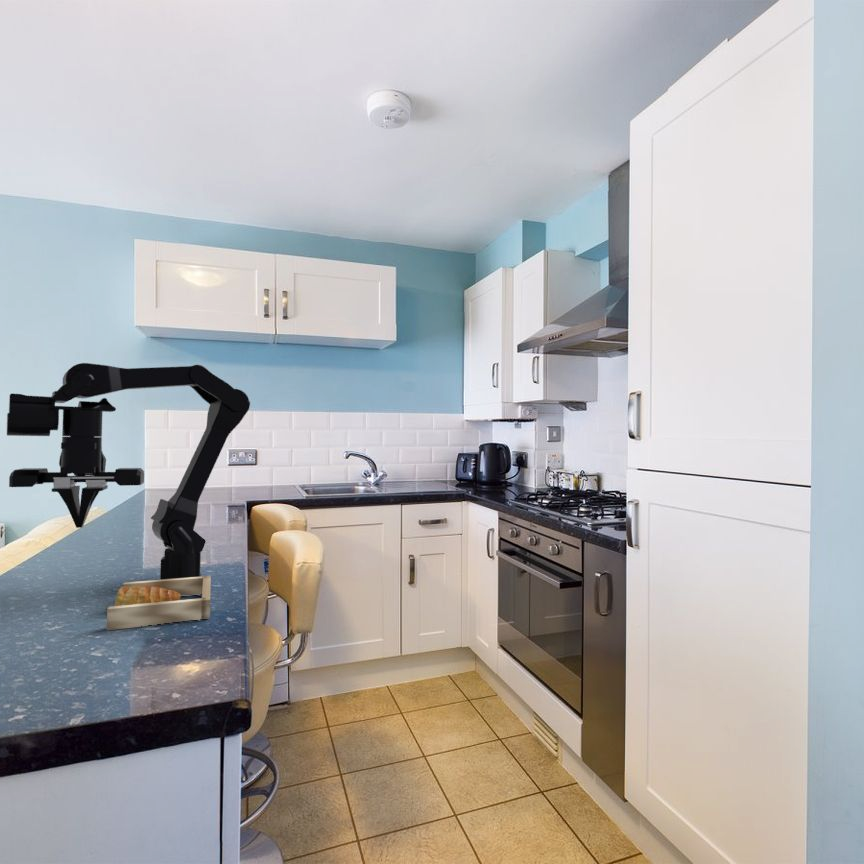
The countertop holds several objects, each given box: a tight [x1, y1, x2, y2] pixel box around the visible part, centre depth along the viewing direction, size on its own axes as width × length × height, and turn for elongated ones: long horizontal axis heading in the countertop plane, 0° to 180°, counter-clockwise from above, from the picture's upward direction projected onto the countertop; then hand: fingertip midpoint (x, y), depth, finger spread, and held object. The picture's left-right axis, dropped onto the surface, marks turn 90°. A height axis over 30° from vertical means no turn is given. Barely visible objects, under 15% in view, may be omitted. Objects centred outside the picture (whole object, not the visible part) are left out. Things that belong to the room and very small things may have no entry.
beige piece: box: [106, 575, 212, 631], centre depth 85 cm, size 14×15×3 cm
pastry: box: [113, 585, 182, 606], centre depth 85 cm, size 9×7×4 cm
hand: (79, 527), depth 90 cm, fingers closed
